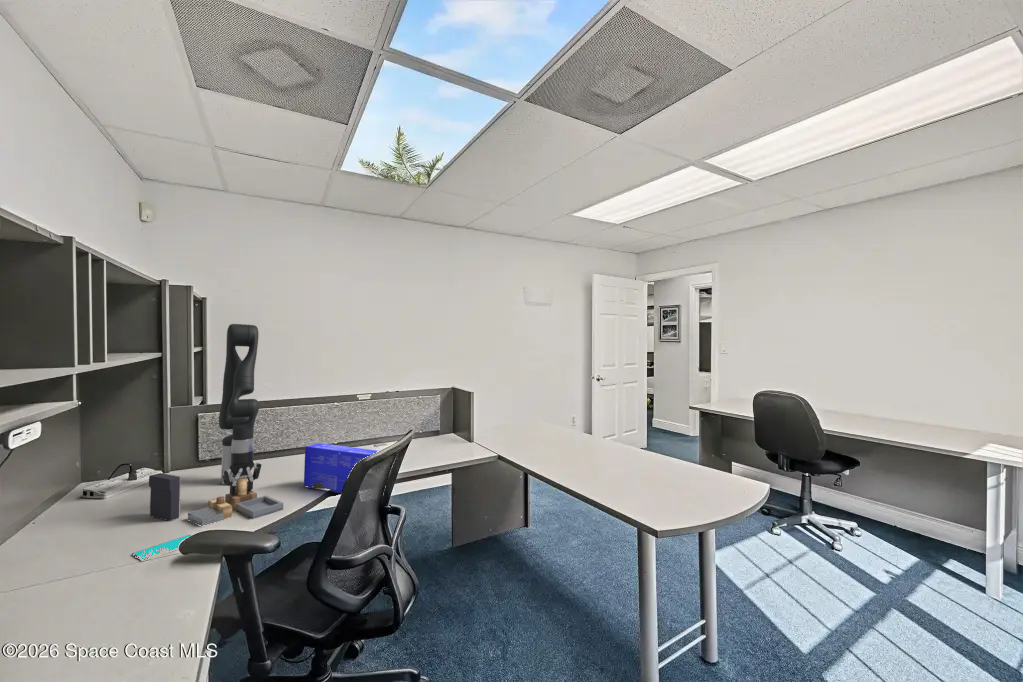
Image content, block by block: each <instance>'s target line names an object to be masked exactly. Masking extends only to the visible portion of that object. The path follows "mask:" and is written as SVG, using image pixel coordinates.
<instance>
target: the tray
mask: <svg viewBox="0 0 1023 682" xmlns="http://www.w3.org/2000/svg"><path fill="white" fill-rule="evenodd" d="M236 510H237V512H238V511H239V513H240V512H241V514H242V513H243V514H242V515H244V514H245V516H246V515H247V516H246V517H249V518H251V519H253V520H254V519H256V518H257V519H258V518H261V517H263V516H267V515H270V514H274V513H276V512H280V511H283V510H284V502H282V501H280V500H277V499H275V498H273V497H270V496H268V495H262V496H260V497H257V498H255V499H251V500H248V501H244V502H240V503H237V504H236V509H235V511H236Z"/></svg>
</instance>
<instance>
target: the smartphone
mask: <svg viewBox="0 0 1023 682" xmlns="http://www.w3.org/2000/svg"><path fill="white" fill-rule="evenodd" d="M190 536H192V535H190V534H187V535H183V536H181V537H178V538H174V539H172V540H169V541H166V542H162V543H159V544H157V545H153V546H151V547H148V548H145V549H142V550H139V551H136V552H132V553H131V556H132V555H133V554H135V555H134V556H136V557H137V556H139V555H140V556H141V555H142V553H143V554H144V550H145V554H144V555H142V557H143V556H144V557H145V556H146V554H147V555H148V554H149V551H150V552H151V549H152V550H153V552H154V553H156V554H159V553H160V548H161V551H162V548H163V549H164V547H165V549H166V548H168V549H169V551H170V550H171V549H172V550H173V549H175V548H178V545H179V543H180V542H181V541H182V540H184V539H186V538H187V537H190ZM155 548H156V549H157V550H159V551H157V552H156V549H155ZM166 550H167V549H166ZM153 552H152V555H153ZM152 555H151V556H152ZM149 556H150V555H149ZM142 557H141V558H142ZM138 558H139V557H138ZM146 558H147V557H145V559H146ZM148 558H149V557H148ZM148 558H147V559H148ZM142 559H144V558H142ZM145 559H144V560H145Z"/></svg>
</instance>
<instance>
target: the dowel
mask: <svg viewBox="0 0 1023 682" xmlns="http://www.w3.org/2000/svg"><path fill="white" fill-rule="evenodd" d="M247 481H248V479H247V477H246V476H245V477H241V478H239V479H238V480H237V482H236V485H235V486H236V496H238V497H239V496H242V495H246V494H247Z"/></svg>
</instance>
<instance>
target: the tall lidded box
mask: <svg viewBox="0 0 1023 682" xmlns="http://www.w3.org/2000/svg"><path fill="white" fill-rule="evenodd" d="M148 487H149V488H150V497H149V499H150V501H149V516H150V517H151V516H153V517H152V518H155V517H157V519H159V518H162V519H161V520H164V519H166V520H165V521H168V520H171V521H173V519H174V520H177V519H179V517H180V516H181V515H180V514H181V513H180V512H181V503H180V501H181V477H180V476H178V475H172V474H169V473H168V474H167V473H162V472H158V473H155V474H151V475H149V476H148ZM176 518H177V519H176Z"/></svg>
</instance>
